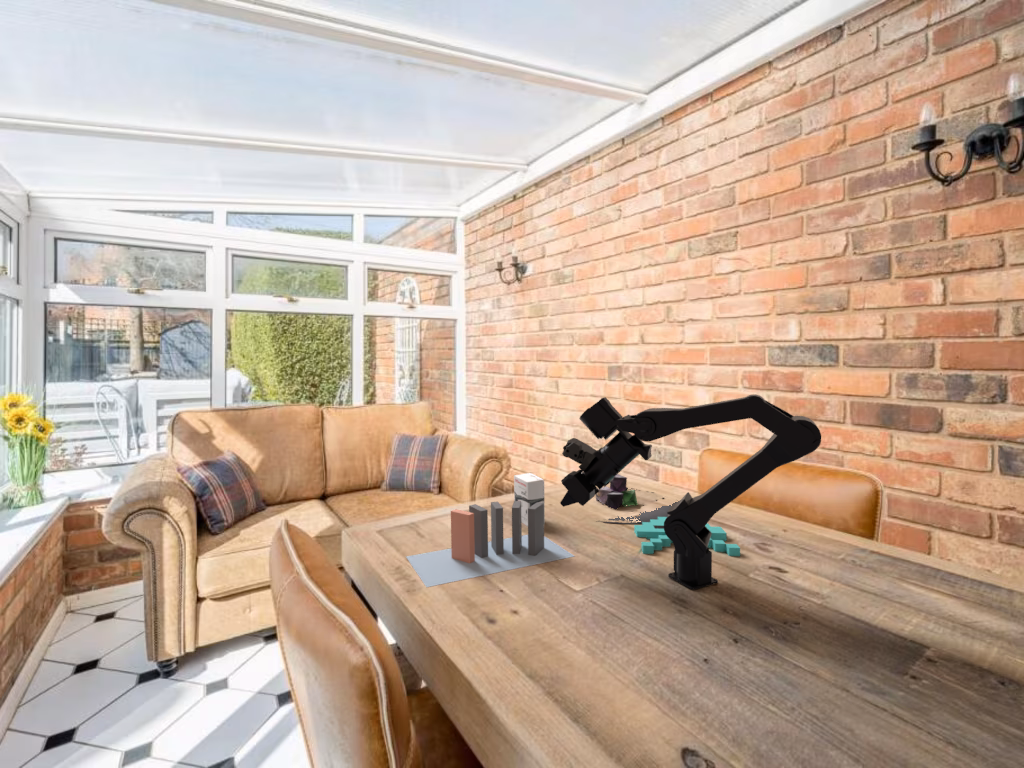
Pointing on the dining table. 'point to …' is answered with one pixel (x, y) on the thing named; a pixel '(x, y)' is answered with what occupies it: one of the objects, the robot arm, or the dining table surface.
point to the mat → (481, 562)
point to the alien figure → (659, 539)
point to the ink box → (528, 493)
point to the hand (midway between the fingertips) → (562, 504)
